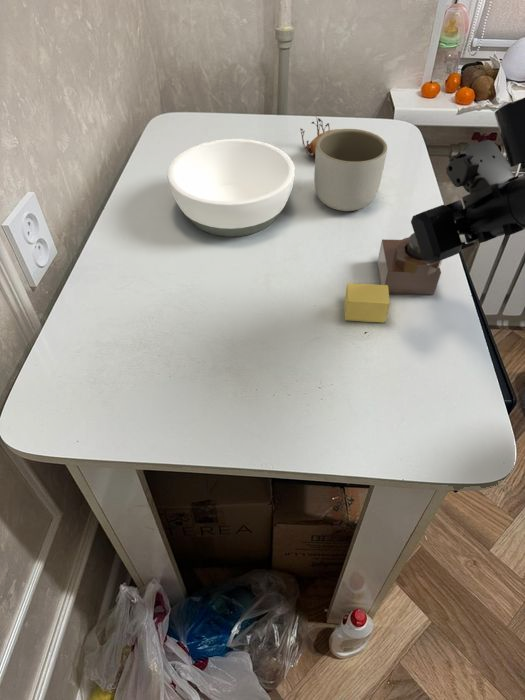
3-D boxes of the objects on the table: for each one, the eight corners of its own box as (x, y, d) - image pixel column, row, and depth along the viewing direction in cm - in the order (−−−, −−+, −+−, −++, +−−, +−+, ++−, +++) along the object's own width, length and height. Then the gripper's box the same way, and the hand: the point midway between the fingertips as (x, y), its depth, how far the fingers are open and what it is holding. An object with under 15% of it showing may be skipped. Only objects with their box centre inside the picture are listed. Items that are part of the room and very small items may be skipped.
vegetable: (370, 122, 111) (380, 90, 101) (379, 167, 108) (390, 138, 98) (299, 131, 110) (302, 99, 100) (306, 176, 108) (310, 148, 98)
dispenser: (436, 298, 78) (447, 265, 73) (383, 296, 78) (391, 264, 74) (426, 262, 84) (436, 229, 79) (377, 261, 84) (384, 228, 79)
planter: (356, 176, 102) (363, 123, 93) (389, 208, 94) (401, 153, 86) (301, 190, 98) (304, 136, 90) (331, 224, 91) (337, 169, 83)
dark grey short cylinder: (435, 261, 75) (439, 248, 73) (408, 260, 75) (411, 248, 73) (430, 244, 77) (434, 232, 75) (404, 244, 77) (407, 231, 76)
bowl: (220, 167, 105) (216, 127, 98) (314, 198, 97) (317, 157, 90) (148, 221, 92) (140, 179, 86) (250, 262, 84) (249, 219, 78)
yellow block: (383, 304, 77) (388, 284, 74) (385, 322, 75) (390, 303, 72) (344, 302, 78) (347, 282, 75) (344, 320, 75) (347, 301, 72)
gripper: (565, 112, 58) (469, 160, 73) (442, 151, 52) (364, 195, 67) (591, 205, 59) (491, 234, 74) (473, 253, 54) (390, 274, 69)
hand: (436, 232), depth 71 cm, fingers closed
